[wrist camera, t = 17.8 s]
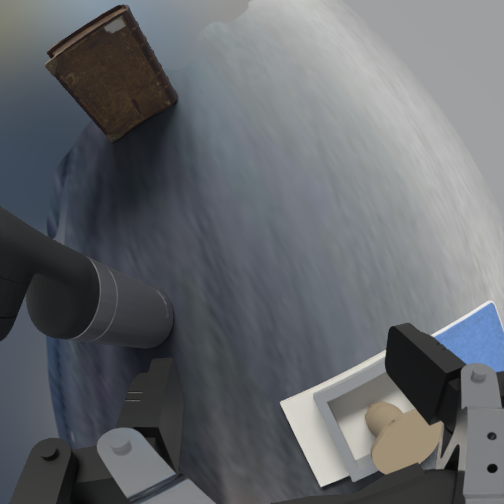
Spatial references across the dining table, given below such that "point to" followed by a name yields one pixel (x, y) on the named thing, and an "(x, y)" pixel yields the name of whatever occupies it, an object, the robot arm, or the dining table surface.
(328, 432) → the open box
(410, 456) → the handle
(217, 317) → the dining table surface
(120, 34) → the book
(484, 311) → the tablet computer
